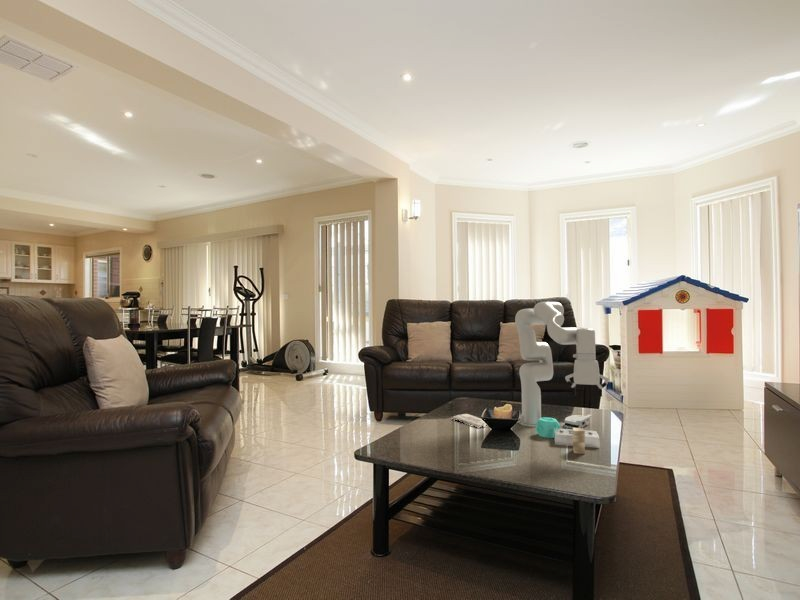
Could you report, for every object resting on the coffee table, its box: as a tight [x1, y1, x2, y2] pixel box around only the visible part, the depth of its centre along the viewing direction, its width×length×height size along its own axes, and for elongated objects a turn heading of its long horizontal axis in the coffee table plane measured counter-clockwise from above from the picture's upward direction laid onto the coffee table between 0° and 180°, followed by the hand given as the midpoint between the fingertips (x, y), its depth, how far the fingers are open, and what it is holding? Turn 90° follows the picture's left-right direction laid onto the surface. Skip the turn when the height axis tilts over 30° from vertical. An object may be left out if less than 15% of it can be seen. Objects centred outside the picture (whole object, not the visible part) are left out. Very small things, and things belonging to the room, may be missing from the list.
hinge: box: [563, 413, 593, 429], centre depth 225 cm, size 17×5×10 cm
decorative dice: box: [535, 416, 561, 439], centre depth 208 cm, size 8×8×8 cm
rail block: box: [553, 428, 601, 449], centre depth 196 cm, size 18×10×5 cm, turn 73°
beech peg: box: [572, 427, 586, 455], centre depth 183 cm, size 4×4×10 cm
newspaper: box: [452, 413, 487, 429], centre depth 232 cm, size 23×12×2 cm, turn 28°
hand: (587, 397), depth 188 cm, fingers open, 9 cm apart
